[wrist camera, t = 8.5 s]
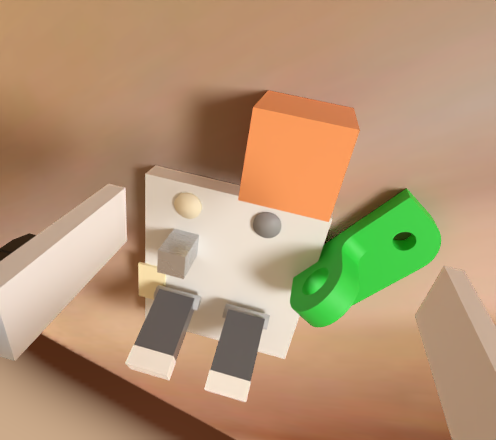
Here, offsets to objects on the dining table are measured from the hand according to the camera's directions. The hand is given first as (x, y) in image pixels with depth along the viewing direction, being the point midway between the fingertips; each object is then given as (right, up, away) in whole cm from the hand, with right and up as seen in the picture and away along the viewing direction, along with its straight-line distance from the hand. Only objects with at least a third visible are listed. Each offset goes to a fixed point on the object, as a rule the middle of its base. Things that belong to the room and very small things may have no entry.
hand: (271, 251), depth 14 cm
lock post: (-7, -1, +17) cm, 19 cm away
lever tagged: (-8, -6, +20) cm, 22 cm away
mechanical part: (+10, -1, +17) cm, 20 cm away
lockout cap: (+3, +8, +13) cm, 15 cm away
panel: (-3, -3, +20) cm, 21 cm away
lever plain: (-1, -8, +19) cm, 21 cm away
